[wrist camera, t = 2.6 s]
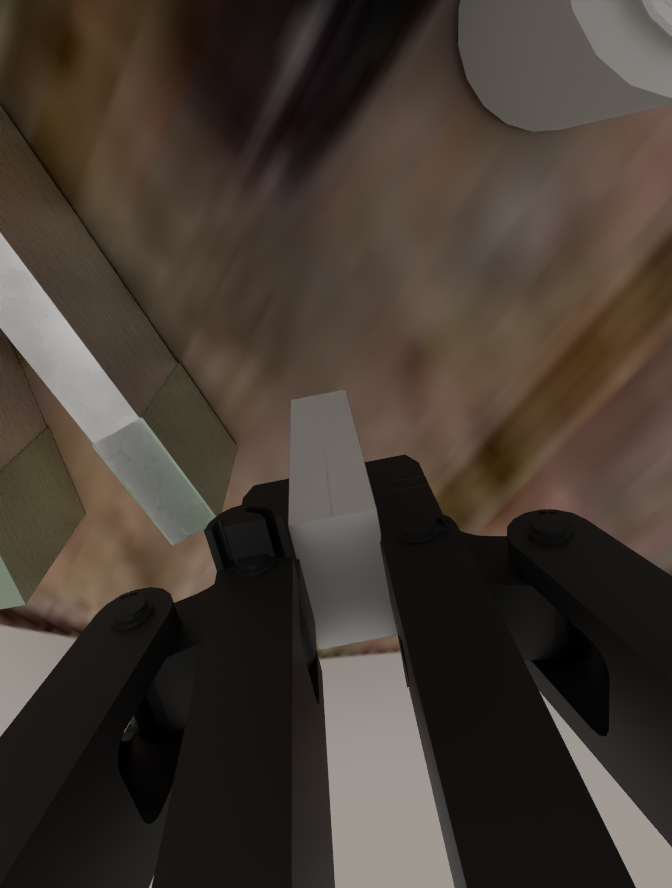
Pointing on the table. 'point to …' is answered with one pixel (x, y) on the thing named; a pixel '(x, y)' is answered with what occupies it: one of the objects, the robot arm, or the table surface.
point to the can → (567, 59)
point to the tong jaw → (104, 353)
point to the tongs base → (29, 488)
